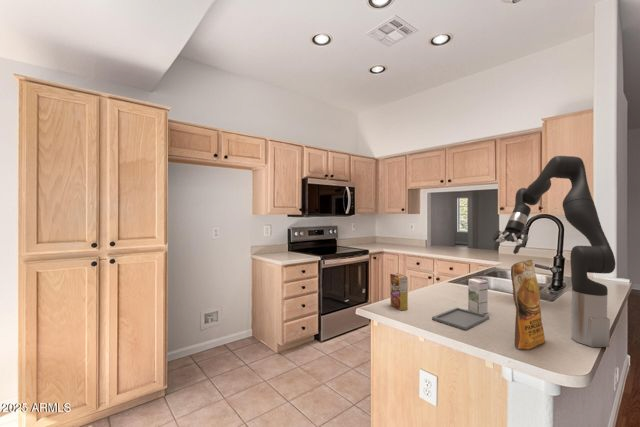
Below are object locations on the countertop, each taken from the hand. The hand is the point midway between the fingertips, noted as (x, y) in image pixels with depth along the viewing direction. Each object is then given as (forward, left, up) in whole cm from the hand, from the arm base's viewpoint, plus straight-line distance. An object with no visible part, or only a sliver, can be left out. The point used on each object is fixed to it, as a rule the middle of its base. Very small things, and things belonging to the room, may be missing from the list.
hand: (505, 251), depth 147 cm
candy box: (-9, +53, -26) cm, 60 cm away
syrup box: (-14, +19, -26) cm, 35 cm away
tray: (-23, +31, -25) cm, 46 cm away
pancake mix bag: (-45, +17, -26) cm, 54 cm away
